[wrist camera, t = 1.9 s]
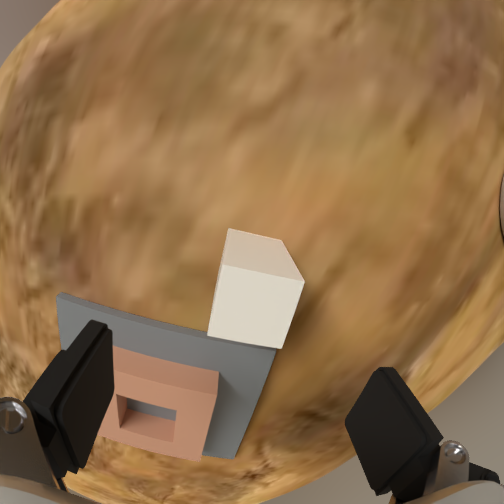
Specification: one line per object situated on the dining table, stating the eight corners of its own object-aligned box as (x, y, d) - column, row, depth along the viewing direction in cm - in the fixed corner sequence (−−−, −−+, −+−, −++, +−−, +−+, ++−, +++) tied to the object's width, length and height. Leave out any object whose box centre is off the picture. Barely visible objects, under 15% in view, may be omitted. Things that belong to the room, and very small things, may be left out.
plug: (281, 240, 21) (304, 281, 14) (267, 288, 22) (281, 348, 15) (228, 227, 21) (222, 264, 13) (217, 278, 22) (207, 335, 14)
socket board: (274, 344, 24) (280, 374, 20) (233, 453, 29) (233, 478, 25) (61, 292, 22) (38, 311, 18) (79, 414, 26) (68, 435, 23)
